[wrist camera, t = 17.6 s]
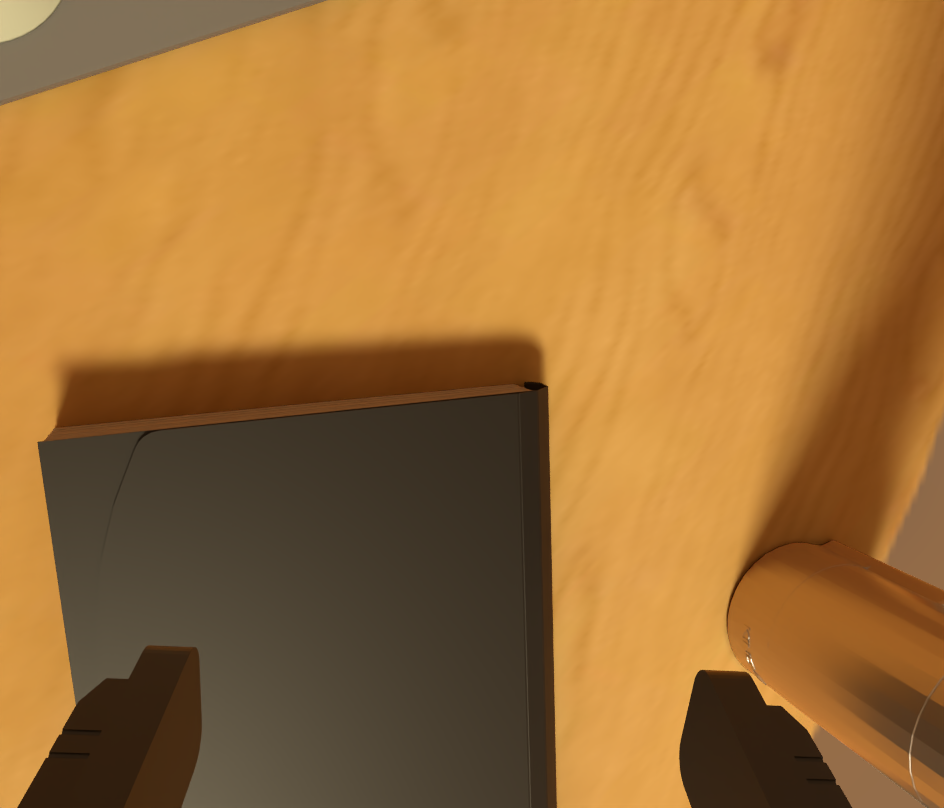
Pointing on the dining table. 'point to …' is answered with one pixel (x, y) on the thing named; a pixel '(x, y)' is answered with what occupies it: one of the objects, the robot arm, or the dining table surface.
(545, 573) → the file folder
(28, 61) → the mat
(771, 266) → the dining table surface
